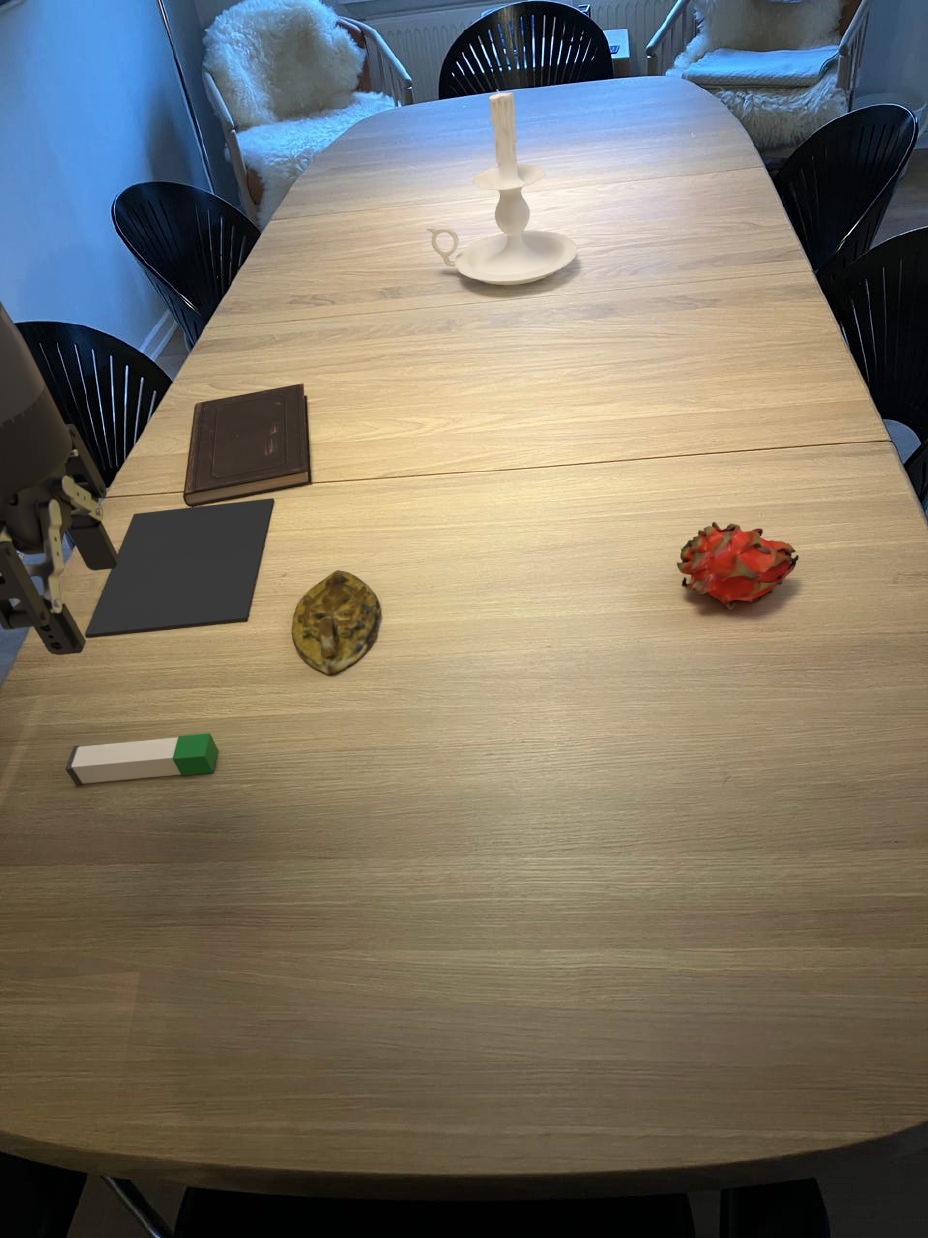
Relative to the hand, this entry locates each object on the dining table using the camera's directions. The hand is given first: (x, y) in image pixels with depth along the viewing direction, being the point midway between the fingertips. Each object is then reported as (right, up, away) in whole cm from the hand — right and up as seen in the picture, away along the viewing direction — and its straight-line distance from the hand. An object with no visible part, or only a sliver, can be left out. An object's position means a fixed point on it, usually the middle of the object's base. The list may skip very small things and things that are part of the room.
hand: (88, 606), depth 63 cm
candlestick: (+33, +58, +94) cm, 115 cm away
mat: (-7, +5, +44) cm, 45 cm away
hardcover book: (-3, +22, +62) cm, 66 cm away
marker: (-4, -15, +22) cm, 27 cm away
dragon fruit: (+53, +2, +30) cm, 61 cm away
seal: (+12, -2, +34) cm, 36 cm away
